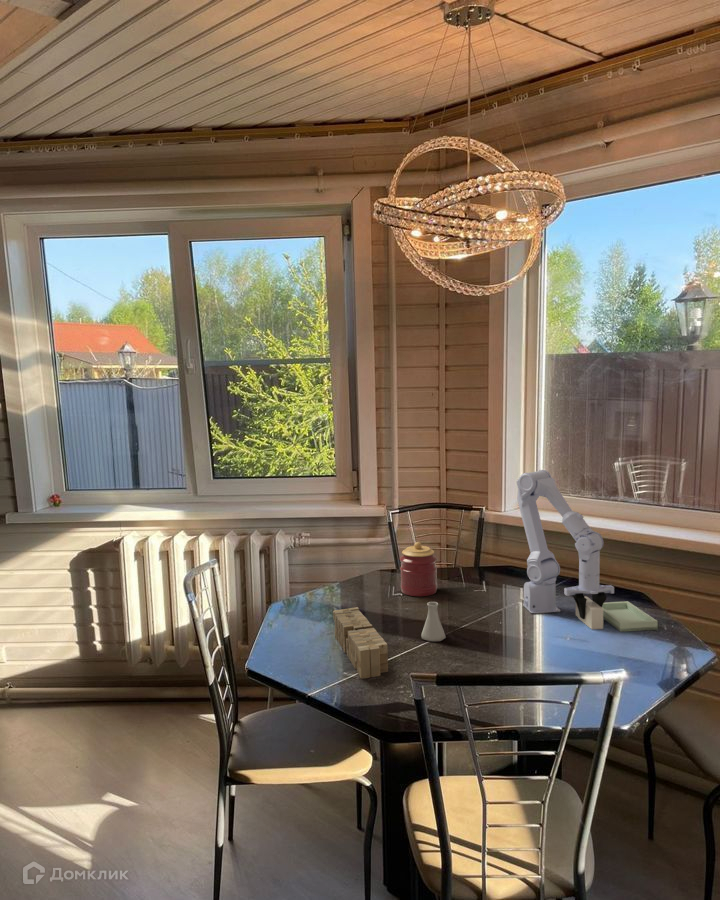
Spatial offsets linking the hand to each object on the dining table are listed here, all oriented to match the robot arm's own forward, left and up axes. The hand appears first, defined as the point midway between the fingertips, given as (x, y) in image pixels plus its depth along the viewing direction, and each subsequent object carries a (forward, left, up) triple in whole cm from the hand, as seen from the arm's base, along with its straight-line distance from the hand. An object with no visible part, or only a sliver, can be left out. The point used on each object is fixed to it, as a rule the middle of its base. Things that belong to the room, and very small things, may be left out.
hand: (589, 617), depth 188 cm
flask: (-48, -4, -2) cm, 48 cm away
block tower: (-70, -12, -2) cm, 71 cm away
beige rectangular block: (0, 0, -1) cm, 1 cm away
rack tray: (+11, 0, -1) cm, 11 cm away
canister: (-45, +37, -2) cm, 58 cm away
